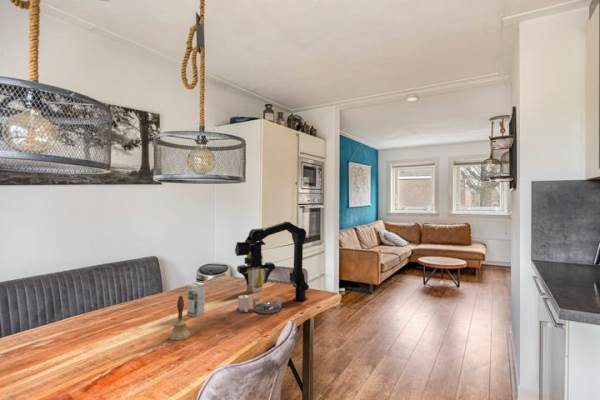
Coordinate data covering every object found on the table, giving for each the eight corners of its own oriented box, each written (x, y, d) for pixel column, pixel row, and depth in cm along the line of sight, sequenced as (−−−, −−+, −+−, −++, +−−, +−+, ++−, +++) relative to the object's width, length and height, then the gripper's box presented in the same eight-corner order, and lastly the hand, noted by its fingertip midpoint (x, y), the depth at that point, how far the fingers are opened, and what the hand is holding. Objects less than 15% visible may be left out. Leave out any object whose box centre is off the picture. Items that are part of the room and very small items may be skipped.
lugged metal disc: (251, 314, 151) (252, 303, 151) (254, 304, 165) (254, 294, 165) (281, 314, 152) (281, 303, 152) (280, 304, 166) (281, 294, 166)
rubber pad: (242, 306, 163) (242, 305, 163) (253, 308, 159) (253, 307, 159) (233, 310, 156) (233, 309, 156) (245, 312, 153) (245, 312, 153)
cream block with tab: (236, 306, 161) (237, 294, 161) (245, 305, 163) (245, 293, 163) (242, 312, 152) (242, 299, 152) (250, 311, 154) (251, 298, 154)
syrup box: (186, 315, 149) (187, 284, 149) (196, 311, 154) (196, 281, 154) (195, 317, 147) (196, 286, 147) (204, 313, 152) (205, 283, 152)
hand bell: (169, 333, 129) (169, 294, 129) (190, 330, 132) (191, 292, 132) (168, 342, 121) (169, 300, 121) (191, 338, 124) (191, 298, 124)
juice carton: (254, 293, 185) (255, 252, 185) (244, 291, 189) (244, 251, 189) (264, 289, 193) (264, 250, 193) (254, 287, 197) (254, 249, 197)
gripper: (268, 250, 173) (268, 278, 174) (234, 253, 166) (234, 282, 166) (275, 253, 163) (275, 283, 163) (239, 256, 155) (239, 288, 156)
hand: (256, 284), depth 162 cm, fingers open, 9 cm apart
